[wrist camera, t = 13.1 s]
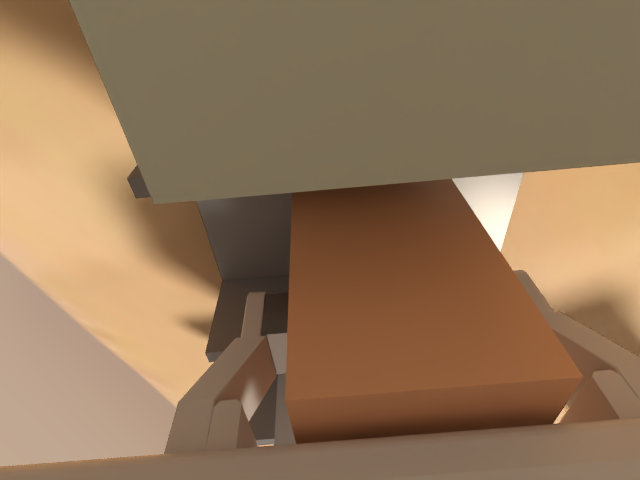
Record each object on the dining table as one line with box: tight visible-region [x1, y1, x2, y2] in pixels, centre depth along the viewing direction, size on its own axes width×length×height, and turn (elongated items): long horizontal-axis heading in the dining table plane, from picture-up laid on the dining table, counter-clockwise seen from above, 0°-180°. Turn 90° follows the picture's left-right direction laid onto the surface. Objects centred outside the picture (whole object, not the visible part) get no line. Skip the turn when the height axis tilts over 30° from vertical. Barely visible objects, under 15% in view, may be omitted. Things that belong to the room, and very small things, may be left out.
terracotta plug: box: [285, 179, 584, 444], centre depth 11 cm, size 5×5×8 cm
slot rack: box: [127, 165, 524, 445], centre depth 14 cm, size 23×13×5 cm, turn 4°
